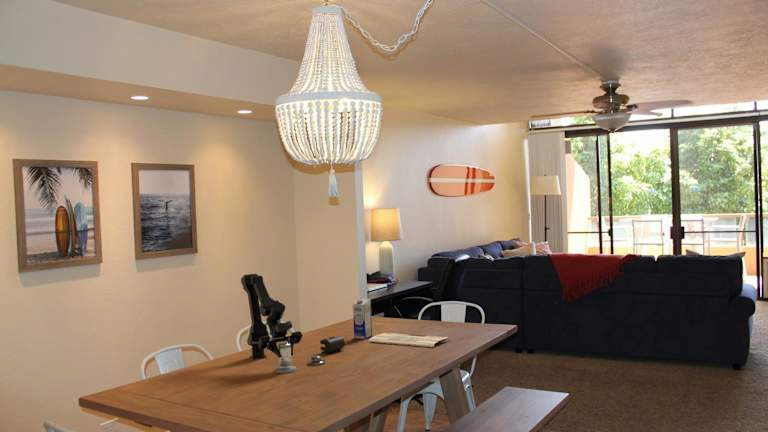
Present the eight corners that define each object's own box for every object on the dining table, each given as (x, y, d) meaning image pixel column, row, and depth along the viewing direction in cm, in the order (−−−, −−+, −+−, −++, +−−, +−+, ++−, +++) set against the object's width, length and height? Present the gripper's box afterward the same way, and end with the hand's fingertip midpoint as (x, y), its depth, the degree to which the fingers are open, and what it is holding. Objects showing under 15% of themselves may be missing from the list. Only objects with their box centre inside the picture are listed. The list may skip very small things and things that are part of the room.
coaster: (273, 369, 291) (273, 367, 291) (293, 367, 294) (293, 364, 294) (277, 374, 282) (277, 372, 282) (298, 371, 285) (298, 369, 285)
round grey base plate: (305, 362, 301) (305, 356, 301) (322, 360, 304) (322, 353, 304) (309, 366, 294) (309, 359, 294) (327, 364, 297) (327, 357, 296)
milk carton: (372, 337, 352) (370, 298, 351) (365, 339, 346) (363, 300, 346) (361, 336, 356) (359, 298, 355) (354, 338, 350) (352, 300, 349)
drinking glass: (281, 363, 291) (280, 342, 291) (293, 363, 290) (292, 342, 290) (277, 366, 286) (276, 345, 286) (289, 366, 285) (288, 345, 285)
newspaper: (450, 341, 334) (450, 336, 334) (432, 349, 318) (431, 343, 318) (387, 336, 354) (386, 331, 354) (366, 344, 337) (366, 338, 337)
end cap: (331, 354, 315) (330, 340, 315) (320, 353, 320) (319, 339, 319) (345, 350, 323) (344, 336, 323) (334, 349, 327) (333, 335, 327)
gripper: (259, 318, 286) (269, 348, 277) (299, 312, 296) (311, 341, 287) (253, 333, 293) (263, 363, 284) (293, 328, 303) (304, 357, 293)
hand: (286, 356), depth 287 cm, fingers closed on drinking glass, 5 cm apart
